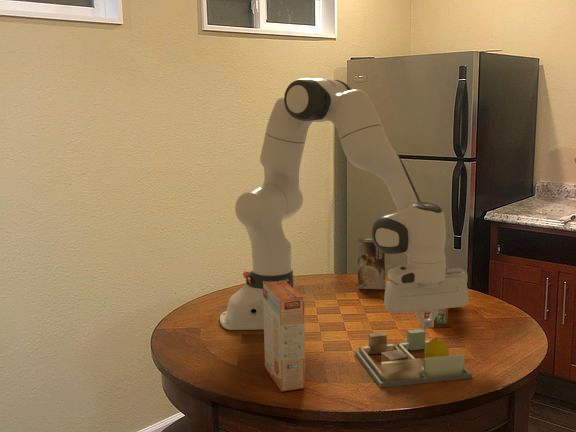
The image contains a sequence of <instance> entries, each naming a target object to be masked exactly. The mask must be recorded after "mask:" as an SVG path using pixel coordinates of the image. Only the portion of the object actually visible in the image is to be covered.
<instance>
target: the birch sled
mask: <svg viewBox="0 0 576 432" xmlns="http://www.w3.org/2000/svg"><path fill="white" fill-rule="evenodd" d="M358 347H359V348H358V352H359V353H360V354H361V356H362V357H363V358H364V359H365V361H366V362H367V363H368V365H369V366H370V367H371V369H372V370H373V371H374V372H375V374H376V375H377V376H378V378H379V379H380V380H381V382H386V381H396V380H405V379H415V378H423V376H422V366H423V359H422V358H420V357H419V358H415V359H409V358H408V360H398V361H388V362H381V361H380V368H379V367H378V366H377V364H376V363H375V362H374V361H373V359H372V358H371V356H370V355H375V354H381V353H382V352H387V351H393V350H400V349H399V348H398V345H396V343H388V335H387V334H386V333H385V332H374V333H368V345H366V346H358ZM400 351H401V350H400ZM401 352H402V351H401ZM402 353H403V352H402ZM369 354H370V355H369Z"/></svg>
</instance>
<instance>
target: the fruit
mask: <svg viewBox="0 0 576 432" xmlns="http://www.w3.org/2000/svg"><path fill="white" fill-rule="evenodd" d="M430 340H431V341H429V340H428V341H429V342H428V343H427V345H426V348H425V349H424V358H428V357H438V356H448V355H449V354H450V350H449V347H448V345H447V343H446V342H445V341H444V340H442V339H440V338H439V337H438V336H435V337H434V338H433V339H430Z"/></svg>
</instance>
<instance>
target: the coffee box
mask: <svg viewBox="0 0 576 432" xmlns="http://www.w3.org/2000/svg"><path fill="white" fill-rule="evenodd" d="M356 245H357V251H356V252H357V289H359V290H385V287H386V254H385V253H382V252H381V251H379V250H378V249H377V247H376V246H375V244H374V242H373V240H372V237H366V238H363V237H362V238H361V237H358V238H357V243H356Z"/></svg>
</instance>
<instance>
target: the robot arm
mask: <svg viewBox="0 0 576 432" xmlns="http://www.w3.org/2000/svg"><path fill="white" fill-rule="evenodd" d="M321 122H322V123H323V122H331V123H333V125H334V126H335V129H336V132H337V135H338V138H339V142H340V145H341V147H342V151H343V153H344V155H345V157H346V159H347V160H348V162H349V163H350V164H351V165H353V166H354V167H355V168H358V169H359V170H362V171H365V172H368V173H371V174H373V175H375V176H377V177H379V178H380V179H381V180H382V181H383V182H384V184H385V186H386V188H387V189H388V191H389V194H390V196H391V198H392V200H393V204H394V205H395V206H396V209H397V210H396V211H397V212H392V213H391V214H386V215H383V216H381V217H379V218H377V219H376V220H375V222H373V225H372V227H371V238H372V240H373V242H374V244H375V246H376V247H377V249H378V250H379V251H381V252H382V253H385V255H397V254H404V255H405V254H406V257H407V261H406V262H404V263H402V264H400V265H397V266H395V267H393V268H390V269H388V271H387V276H388V278H389V280H388V281H387V282H386V283H385V289H384V298H383V299H384V301H383V305H384V308H385V309H386V311H387V312H389V313H390V314H392V315H393V314H402V313H411V312H414V314H415V315H416V316H417V318H418V320H419V328H420V329H425V328H434V326H435V323H434V320H435V318H436V316H437V315H438V309H444V308H448V309H452V308H454V309H455V308H460V307H461V308H463V307H466V306H467V305H468V304H469V291H468V279H469V278H468V277H469V276H468V272H467V271H466V270H465V269H463V268H462V267H456V268H447V266H446V265H447V258H446V253H445V245H446V242H447V229H446V218H445V214H444V211H443V209H442V208H441V206H439V205H438V204H436V203H433V202H429V201H422V200H421V199H420V197H419V195H418V192H417V190H416V188H415V185H414V183H413V181H412V179H411V177H410V175H409V173H408V171H407V169H406V166H405V165H404V163H403V161H402V159H401V157H400V155H398V153H397V152H396V150H395V149H394V148H393V146H392V144H391V142H390V140H389V139H388V136H387V134H386V131H385V128H384V126H383V123H382V120H381V118H380V115H379V113H378V111H377V108H376V107H375V105H374V102H373V101H372V99H371V98H370V96H369V94H368V93H367V92H365V91H364V90H362V89H352V88H351V87H350V86H349V85H348V84H347V83H346V82H343V81H342V80H339V79H332V78H328V77H327V78H326V77H316V78H311V77H303V78H298V79H296V80H294V81H292V82H291V83H290V84H289V85H288V86H287V88H286V90H285V92H284V95H283V96H281V97H280V98H278V99H277V100H276V101H275V103H274V105H273V108H272V111H271V113H270V116H269V119H268V122H267V126H266V129H265V133H264V139H263V144H262V148H261V153H260V157H259V161H260V164H261V165H262V167H263V171H264V172H263V174H264V180H263V184H262V185H259V186H256V187H252V188H250V189H248V190H247V191H245V192H243V193H242V194H241V195H239V197H237V199H236V201H235V202H236V203H235V207H234V208H235V216H236V217H237V219H238V221H239V222H240V224H242V225H243V226H244V227H245V229H246V231H247V235H248V236H249V237H248V238H249V240H250V244H251V245H250V246H251V257H252V260H251V262H252V270H251V271H249V270H246V269H245V270H244V271H243V272H242V275H243V278H245V285H244V286H242V288H239V290H238V291H236V292H235V293H234V294H232V295H231V296H230V298H229V300H228V304H227V308H226V310H225V311H223V312H221V314H220V315H219V322H220V323H219V324H220V326H221V327H222V328H223V329H225V330H228V331H248V330H249V331H250V330H251V331H252V330H255V331H256V330H257V331H258V330H264V302H263V284H264V283H272V282H280V281H286V282H287V283H288V284H289V285H290V286H291V287H292V288H294V286H295V279H294V278H295V277H294V275H295V274H294V270H293V269H292V244H291V242H290V241H289V239H287V238H286V236H285V233H284V230H283V226H282V225H283V223H282V221H285V220H287V219H290V218H291V217H293V216H294V215H295V214H296V213H297V212H299V210H300V209H301V207H302V206H303V203H304V196H303V191H301V189H300V169H301V163H302V158H303V153H304V148H305V144H306V140H307V136H308V131H309V128H310V126H311V125H312V124H313V123H321ZM425 310H429V311H430V312H431V313H430V315H429V318H426V319H424V312H425Z"/></svg>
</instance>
